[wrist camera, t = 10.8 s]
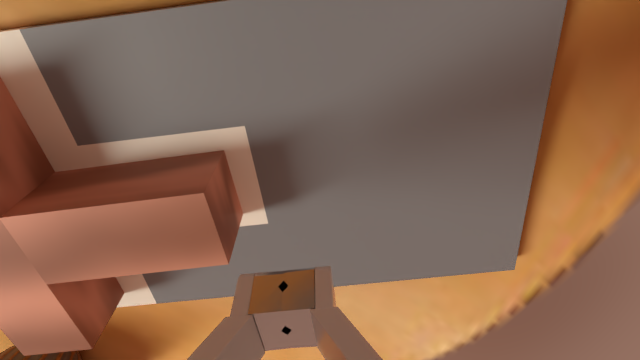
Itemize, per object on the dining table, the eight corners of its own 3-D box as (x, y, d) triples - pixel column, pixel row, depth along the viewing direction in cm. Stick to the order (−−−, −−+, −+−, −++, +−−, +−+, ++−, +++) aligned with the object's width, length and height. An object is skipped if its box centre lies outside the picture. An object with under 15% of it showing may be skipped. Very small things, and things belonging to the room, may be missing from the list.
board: (-142, 49, 17) (-166, 54, 16) (562, -48, 15) (576, -48, 15) (42, 303, 26) (33, 315, 25) (507, 258, 24) (514, 269, 23)
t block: (-82, 88, 17) (-182, 121, 14) (193, 48, 16) (161, 72, 13) (65, 299, 24) (23, 355, 21) (262, 278, 23) (252, 333, 20)
